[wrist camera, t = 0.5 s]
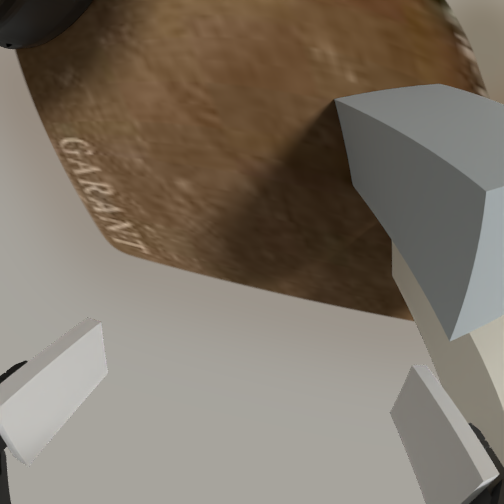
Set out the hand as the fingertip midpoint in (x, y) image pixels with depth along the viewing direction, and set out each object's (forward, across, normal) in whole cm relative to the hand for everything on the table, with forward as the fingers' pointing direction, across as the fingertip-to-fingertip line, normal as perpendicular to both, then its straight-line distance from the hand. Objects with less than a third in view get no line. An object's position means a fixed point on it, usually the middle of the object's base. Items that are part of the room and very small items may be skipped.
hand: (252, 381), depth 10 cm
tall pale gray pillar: (+17, +11, +15) cm, 26 cm away
